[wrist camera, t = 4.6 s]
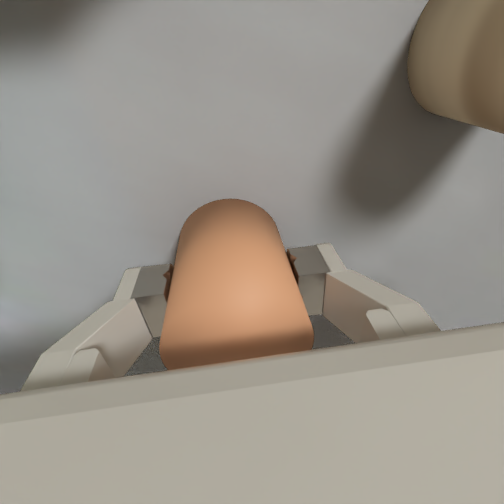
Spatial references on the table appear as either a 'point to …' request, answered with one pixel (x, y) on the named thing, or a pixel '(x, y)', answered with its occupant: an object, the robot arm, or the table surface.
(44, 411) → the robot arm
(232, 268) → the orange egg
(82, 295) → the table surface
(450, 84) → the tan egg
